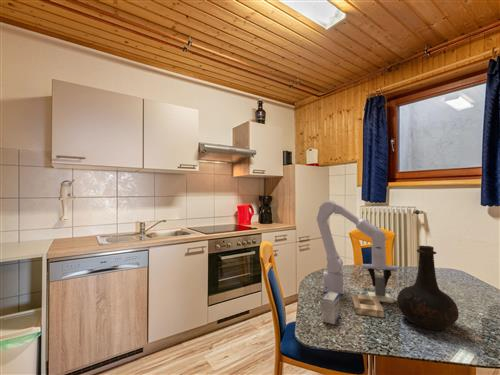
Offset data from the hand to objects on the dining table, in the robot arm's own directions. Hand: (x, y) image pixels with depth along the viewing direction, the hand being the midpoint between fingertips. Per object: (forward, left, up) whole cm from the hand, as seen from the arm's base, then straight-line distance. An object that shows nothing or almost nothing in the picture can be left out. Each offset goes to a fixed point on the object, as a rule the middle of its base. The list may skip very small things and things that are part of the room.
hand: (379, 286), depth 113 cm
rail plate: (-7, -13, -5) cm, 16 cm away
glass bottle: (+12, -20, -5) cm, 24 cm away
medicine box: (-21, -27, -6) cm, 35 cm away
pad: (0, 0, -5) cm, 5 cm away
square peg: (0, 0, -3) cm, 4 cm away
